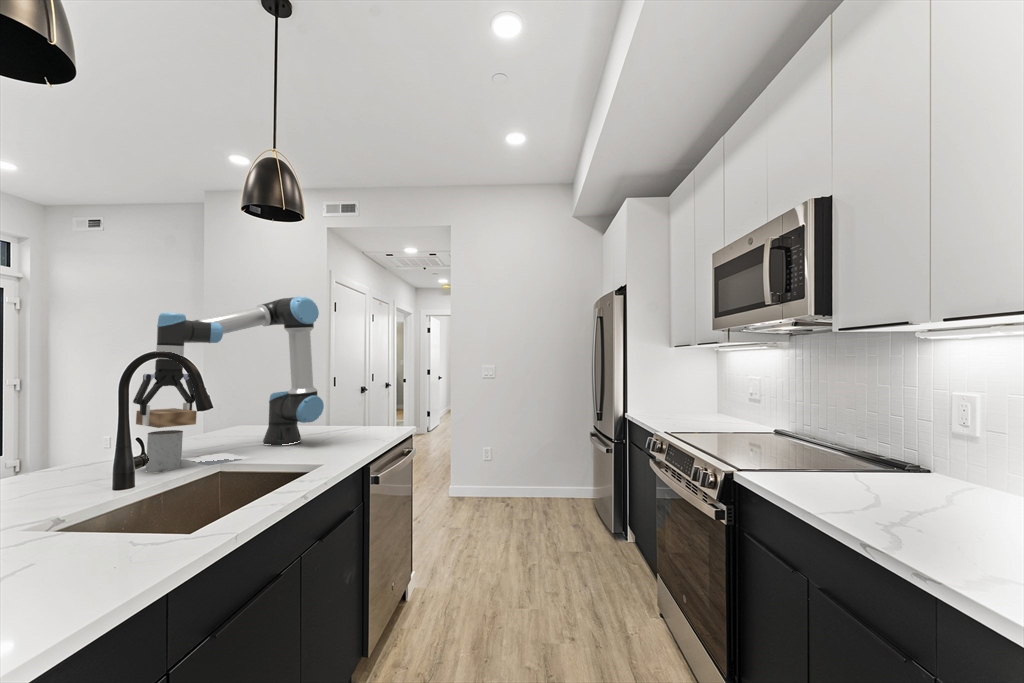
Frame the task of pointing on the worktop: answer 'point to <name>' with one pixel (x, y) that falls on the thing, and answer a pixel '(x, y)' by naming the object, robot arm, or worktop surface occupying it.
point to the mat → (217, 461)
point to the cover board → (168, 417)
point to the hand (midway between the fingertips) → (166, 423)
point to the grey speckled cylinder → (164, 450)
